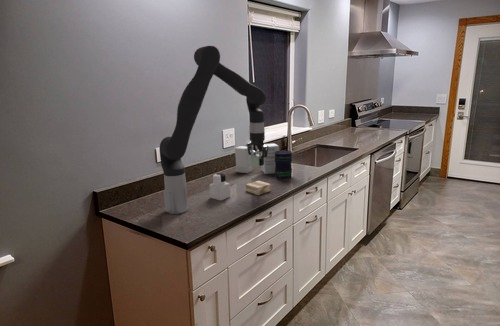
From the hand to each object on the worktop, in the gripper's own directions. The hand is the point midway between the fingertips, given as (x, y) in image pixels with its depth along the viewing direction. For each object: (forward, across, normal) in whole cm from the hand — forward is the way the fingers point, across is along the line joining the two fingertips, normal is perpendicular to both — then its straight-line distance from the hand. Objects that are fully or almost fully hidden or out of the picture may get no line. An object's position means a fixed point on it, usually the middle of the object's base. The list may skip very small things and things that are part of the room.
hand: (257, 164), depth 179 cm
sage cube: (0, 0, 0) cm, 0 cm away
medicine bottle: (+14, -6, -20) cm, 25 cm away
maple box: (+15, 0, 0) cm, 15 cm away
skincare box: (+14, -34, +19) cm, 42 cm away
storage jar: (+14, -8, +27) cm, 32 cm away
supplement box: (+14, -22, +30) cm, 40 cm away
